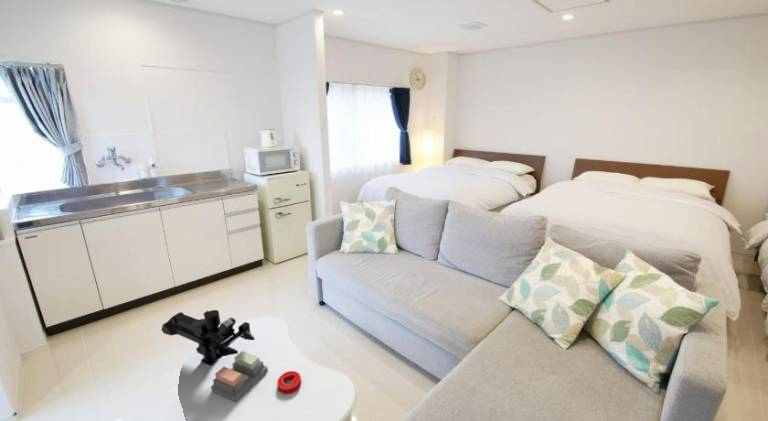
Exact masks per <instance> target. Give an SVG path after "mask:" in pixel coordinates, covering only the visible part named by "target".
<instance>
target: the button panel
mask: <svg viewBox="0 0 768 421" xmlns="http://www.w3.org/2000/svg"><path fill="white" fill-rule="evenodd" d="M230 369H231V370H233V371H236V372H238V373H241V375H242V381H241V382H240V383H239V384H238V385H237V386H236V387H235V388H232V387H230V386H228V385H226V384H223V383H221V382H219V381H217V380H216V377H215V378H214V379H213V381H212V382H213V384H212V385H211V386H210V389H211V392H212V393H215V394H216V395H219V396H220V397H222V398H225V399H227V400H229V401H231V402H234V403H235V404H237V403H238V402H239V401H240V400H241V399H242V398H243V397H244V396H245V395H246V394H247V393H248V392H249V391H250V390H251V389H252V388H253V387H254V386H255V385H256V384H257V383H258V382H259V380H261V379H262V377H263V376H265V375H266V373H267V372H269V370H268V366H267V365H264V361H261V360H260V364H259V365H258V366H257V367H256V368H255V369H254V370H253V371H252V370H250V369H247V368H245V367H243V366H240V365H238V364H236V363H235V361H233V363H232V367H231V368H230Z"/></svg>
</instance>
